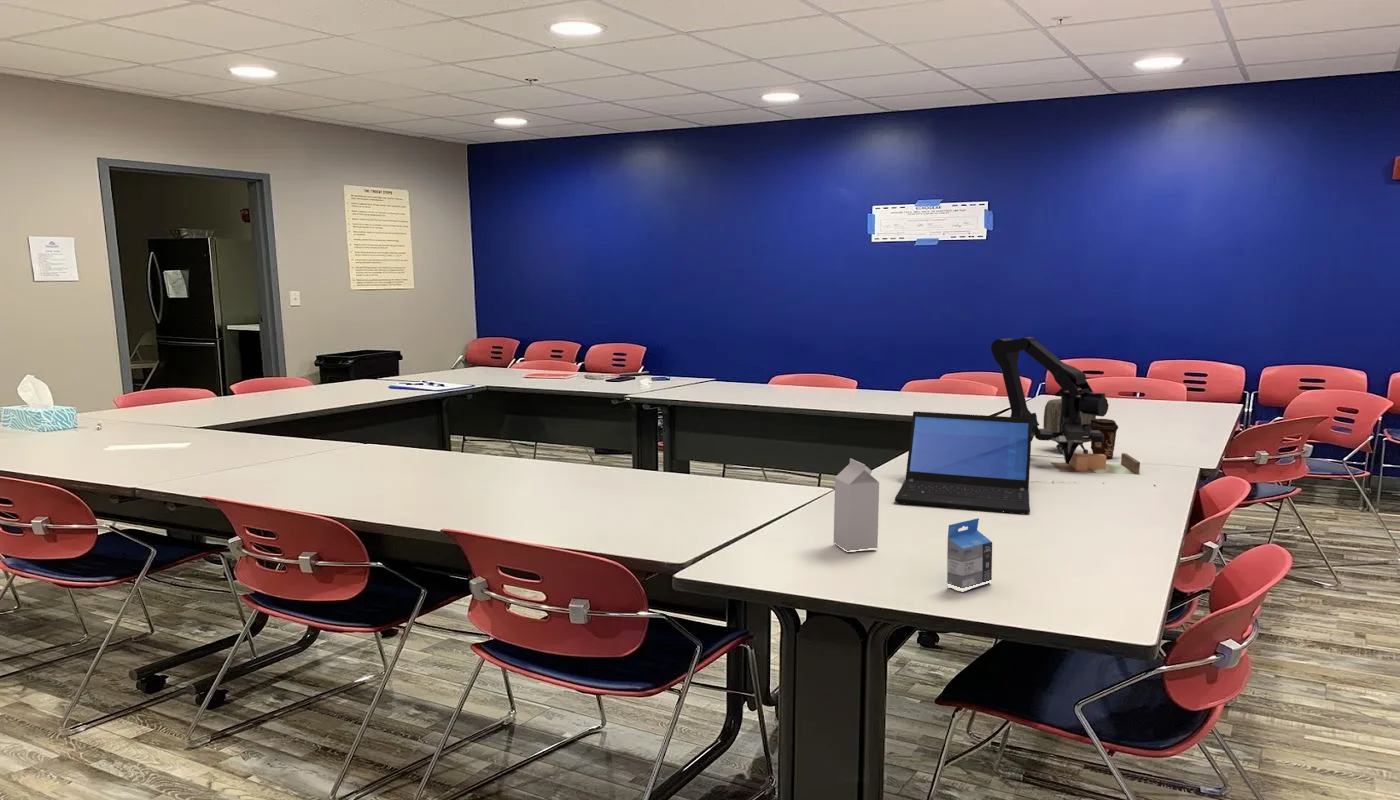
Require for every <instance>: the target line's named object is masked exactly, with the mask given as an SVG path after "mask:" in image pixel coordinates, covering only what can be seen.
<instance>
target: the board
mask: <svg viewBox="0 0 1400 800" xmlns="http://www.w3.org/2000/svg"><path fill="white" fill-rule="evenodd" d="M1120 456H1121V458H1120V460H1121V461H1120V464H1116V463H1115V464H1113V463H1106V469H1087V471H1079V470H1075V469H1074V468H1073V467H1072V466H1071V465H1070V462H1069V464H1066V462H1059V461H1058V462H1054V461H1053V462H1050V464H1051V465H1052V466H1054V468H1056V469H1057V470H1058V471H1059V472H1060V473H1082V474H1083V473H1085V474H1086V473H1087V474H1088V473H1090V474H1091V473H1093V474H1114V475H1115V474H1116V475H1117V474H1119V475H1140V468H1141V467H1140V466H1141V462H1140V461H1139V460H1137V459H1136V458H1134V457H1132V456H1131V455H1129V454H1128V453H1125V452H1122V453H1121V455H1120Z"/></svg>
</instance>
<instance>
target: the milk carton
mask: <svg viewBox="0 0 1400 800" xmlns="http://www.w3.org/2000/svg"><path fill="white" fill-rule="evenodd" d="M872 473H873V471H872V470H871V469H870V467H868V466H866V464H864V463H862V462H860V461H857V460H855V459H853V458H849V464H848V465H847V466H845V467H844V468H843V469H842V470H841V471H840V472H838V474H837V475H836V476H835V477H834V505H833V507H834V508H833V509H834V511H833V513H834V514H833V515H834V516H833V544H834V543H836V544H837V545H839V546H840V547H842V548H844V549H845V550H847V551H850V550H859V549H868V548H877V549H878V541H879V540H878V539H879V538H878V535H879V510H880V509H879V505H880V504H879V502H880V482H879V481H878V479H876V478H875V477H874V476H873V475H871V474H872Z"/></svg>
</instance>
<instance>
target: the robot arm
mask: <svg viewBox="0 0 1400 800" xmlns="http://www.w3.org/2000/svg"><path fill="white" fill-rule="evenodd" d="M1023 351H1024V352H1025V353H1027V354H1028V355H1029V356H1030V357H1031V358H1033V359H1034V360H1035V361H1036V362H1038V363H1039V364H1040V365H1041V366H1042V367H1043V368H1045V369H1046V370H1047V371H1048V372H1049V373H1050V374H1051V375H1052V376H1053V380H1054V382H1055V383H1057V385H1058V386H1059V387H1060V389H1059V390H1058V391H1057V392H1055V393H1054V394H1053V395H1054V396H1055V397H1061V398H1060V399H1061V410H1060V426H1059V432H1052V431H1051V430H1050V429H1044V428H1039V427H1038V426H1040V423H1039V421H1038V419H1037V418H1038V416H1037V413H1036V412H1032V413H1031V411H1030V410H1029V408H1028V406H1027V401H1026V397H1025V394H1024V393H1025V392H1024V389H1023V385H1022V380H1021V376H1020V372H1019V368H1018V361H1019V356H1020V353H1021V352H1023ZM990 352H991V354H992V357H993V360H994V361H995V363H997V365H998V366H999V368H1000V369H1001V370H1000V371H1001V374H1002V378H1003V383H1004V386H1005V390H1006V394H1007V399H1008V403H1009V406H1010V412H1011V414H1010V417H1019V418H1029V420H1030V421H1031V422H1032V431H1031V442H1032V441H1033V439H1034V438H1035V439H1037V440H1038V441H1047V442H1048V441H1052V440H1051V439H1052V438H1056V439H1055V441H1056V442H1055V441H1054V442H1055V443H1057V444H1058V443H1059V445H1060V447H1061V448H1060V449H1062V452H1063V453H1062V455H1063V458H1064V463H1066V464H1069V463H1070V460H1071V458H1072V455H1073V453H1074V452H1076V450H1077V448H1078V447H1079V446H1080V444H1084V443H1083V442H1082V440H1083V439H1090V440H1091V441H1092V442H1104V434H1103V433H1101V432H1100V431H1098V430H1091V426H1090V424H1083V425H1082V424H1081V412H1082V413H1083V414H1087V415H1094V416H1096V417H1101V418H1102V417H1103V418H1104V416H1105V415H1106V414H1107V413H1108V411H1109V405H1110V404H1109V403H1108V399H1107V398H1106V393H1104V392H1094V391H1093V389H1092V387H1091V385H1090V384H1089V382H1088V381H1087V376H1086V374H1085V373H1084V371H1082V370H1080V369H1078V368H1076V367H1075V366H1072V365H1070V364H1067V363H1065V362H1063V361H1062V360H1061V359H1059V358H1058V357H1057V356H1056V355H1055V354H1054V353H1052V352H1051V351H1049V350H1048V349H1047V348H1046V347H1045V346H1043V345H1042V344H1041V343H1040V342H1038V339H1036V338H1035V337H1033V336H1028V337H1027V336H1026V337H1021V338H1018V339H1014V338H1009V337H1008V338H999V339H997V338H996V339H994V340H993V342H992V344H991V345H990ZM1019 352H1020V353H1019ZM1067 440H1069V442H1067ZM1091 441H1090V442H1091Z"/></svg>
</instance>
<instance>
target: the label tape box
mask: <svg viewBox="0 0 1400 800" xmlns="http://www.w3.org/2000/svg"><path fill="white" fill-rule="evenodd" d="M979 520H980V518H978V517H977V518H973V519H969V520H965V521H960V522H957V523H953V524H948V531H947V548H946V549H947V550H946V552H947V553H946V554H947V556H946V557H947V559H946V560H947V561H946V562H947V563H946V564H947V565H946V569H947V571H946V572H947V573H946V578H947V579H946V583H948V584H951V585H954V586H957V587H960V588H965V587H969V586H973V585H976V584H980V583H982V582H986V581H989V580H992V578H993V577H992V576H993V572H992V571H993V542H992V540H990V539H989V538H987V537H986V535H984V534H983V533H981V532H980V531H979V530H978V527H979ZM963 527H964V528H967V529H964V530H960V529H962V528H963ZM959 530H960V531H959ZM992 581H993V580H992Z"/></svg>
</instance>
